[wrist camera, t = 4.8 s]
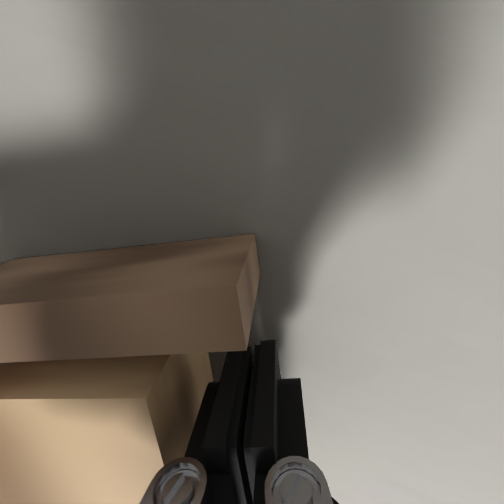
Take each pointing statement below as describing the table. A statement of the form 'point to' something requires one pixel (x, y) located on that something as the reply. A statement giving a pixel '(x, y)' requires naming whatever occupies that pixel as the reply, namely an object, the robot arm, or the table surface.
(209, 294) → the wooden blocks
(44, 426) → the cardboard-coloured box
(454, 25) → the table surface
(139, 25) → the table surface
